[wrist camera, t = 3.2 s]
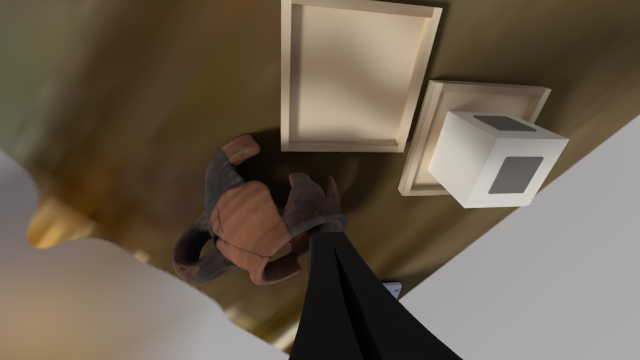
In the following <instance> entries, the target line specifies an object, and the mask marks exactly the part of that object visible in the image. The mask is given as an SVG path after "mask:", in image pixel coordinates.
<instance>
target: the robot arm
mask: <svg viewBox="0 0 640 360" xmlns="http://www.w3.org/2000/svg"><path fill="white" fill-rule="evenodd" d="M308 275H309V282H308V287H307V292H306V297H305V302H304V307H303V311H302V315H301V319H300V323H299V326H298V330H297V334H296V337H295V340H294V344H293V347H292V351H291V354H290V357H289V360H463V359H462V358H460V357H459V356H458V355H457V354H455V353H454V352H453V351H452V350H451V349H450V348H448V347H447V346H446V345H445V344H444V343H442V342H441V341H440V340H439V339H437V337H436V336H434V335H433V334H432V333H431V332H430V331H428V330H427V329H426V328H425V327H424V326H423V325H422V324H421V323H420V322H419V321H418V320H417V319H416V318H415V317H414V316H413V315H412V314H411V313H409V311H408V310H406V309H405V307H404V306H403V305H402V304H401V303H400V302H399V301H398V300H397V298H398V295H399V293H400V290H401V287H402V286H401V284H400V283H399V282H394V283H382V282H381V281H380V280H379V279H378V277H377V276H376V275H375V274H374V273H373V271H372V270H371V269H370V268H369V266H368V265H367V264H366V262H365V261H364V260H363V259H362V257H361V256H360V254H359V253H358V252H357V250H356V249H355V248H354V246H353V245H352V243H351V242H350V240H349V239H348V237H347V236H346V234H345V233H344V232H343V231H341V232H324V233H312V234H311V235H310V241H309V257H308Z"/></svg>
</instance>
